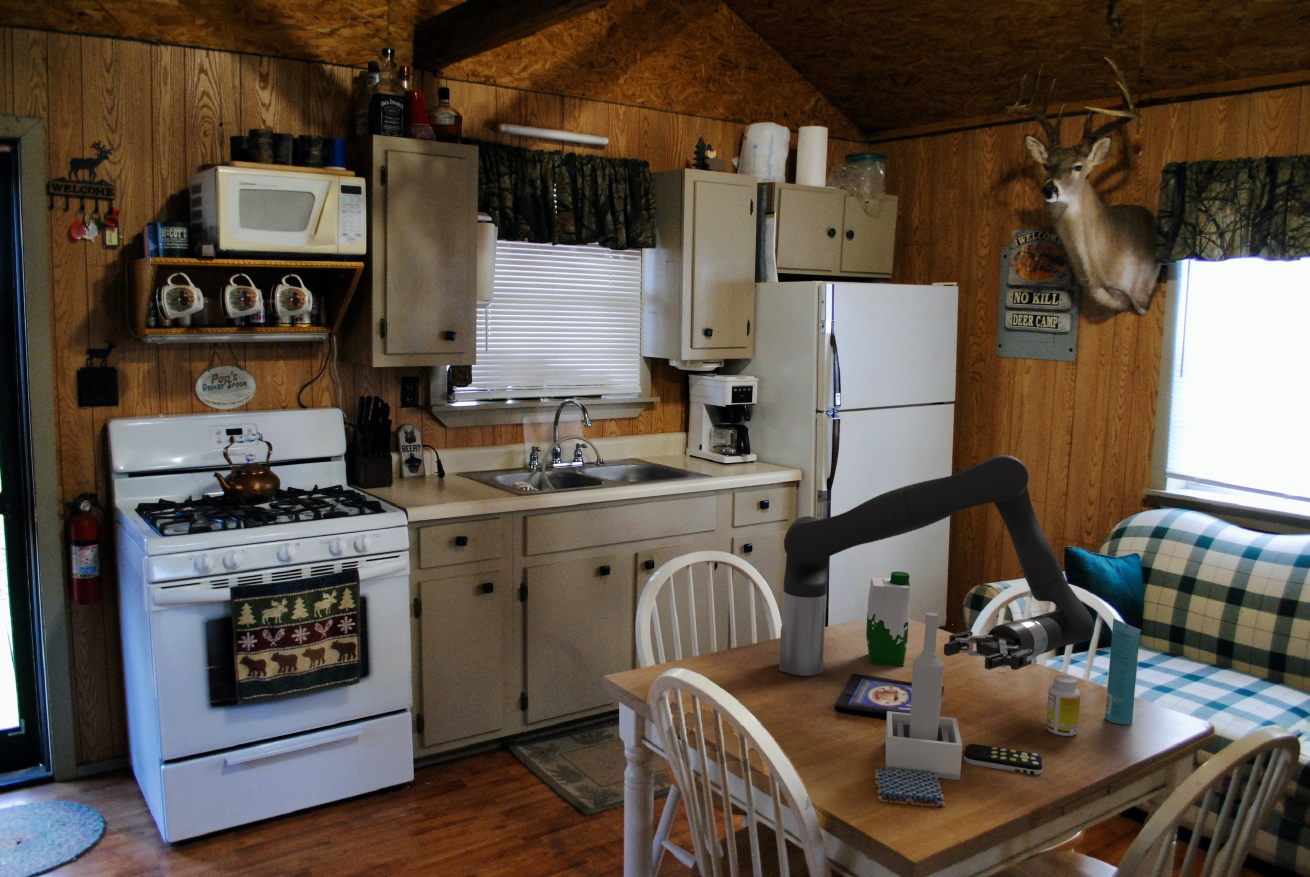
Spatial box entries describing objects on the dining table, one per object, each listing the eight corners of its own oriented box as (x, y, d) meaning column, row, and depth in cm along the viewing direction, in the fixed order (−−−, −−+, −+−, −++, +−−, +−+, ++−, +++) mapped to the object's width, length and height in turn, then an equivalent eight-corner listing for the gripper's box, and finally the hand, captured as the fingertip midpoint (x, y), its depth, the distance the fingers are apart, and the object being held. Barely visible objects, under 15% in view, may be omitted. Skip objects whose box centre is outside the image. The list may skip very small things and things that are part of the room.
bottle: (938, 751, 177) (948, 612, 174) (936, 763, 172) (947, 620, 169) (907, 746, 178) (917, 608, 176) (905, 757, 173) (915, 616, 171)
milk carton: (908, 667, 223) (913, 579, 220) (866, 664, 224) (871, 576, 222) (903, 655, 231) (909, 569, 229) (863, 652, 232) (868, 567, 230)
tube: (1142, 725, 193) (1151, 628, 191) (1123, 728, 192) (1131, 630, 190) (1113, 711, 200) (1121, 617, 198) (1093, 714, 199) (1101, 619, 196)
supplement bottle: (1083, 732, 189) (1087, 679, 188) (1067, 739, 186) (1072, 686, 185) (1055, 722, 194) (1059, 671, 193) (1039, 729, 190) (1043, 677, 189)
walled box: (885, 771, 170) (887, 737, 170) (885, 742, 182) (887, 710, 181) (959, 780, 168) (962, 745, 167) (954, 750, 180) (956, 718, 179)
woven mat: (936, 781, 168) (937, 770, 168) (946, 811, 158) (947, 799, 158) (872, 776, 170) (873, 764, 169) (878, 805, 159) (878, 793, 159)
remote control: (965, 751, 181) (965, 740, 180) (1041, 763, 176) (1042, 752, 176) (963, 765, 175) (964, 754, 174) (1042, 778, 171) (1043, 766, 170)
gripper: (986, 612, 195) (934, 626, 185) (1054, 631, 184) (1002, 647, 174) (983, 650, 196) (931, 665, 186) (1051, 671, 185) (999, 689, 175)
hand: (965, 656), depth 180 cm, fingers open, 8 cm apart
